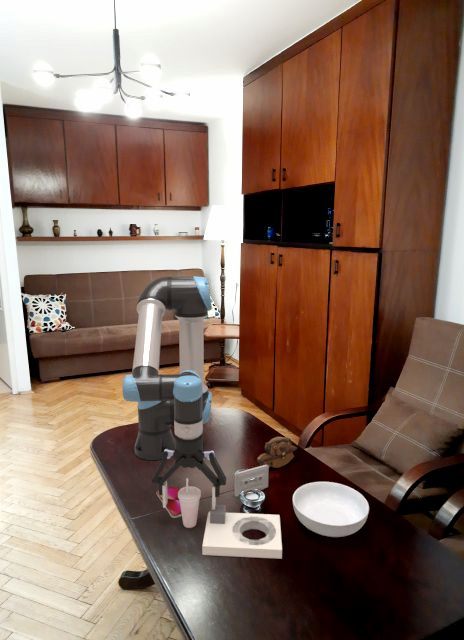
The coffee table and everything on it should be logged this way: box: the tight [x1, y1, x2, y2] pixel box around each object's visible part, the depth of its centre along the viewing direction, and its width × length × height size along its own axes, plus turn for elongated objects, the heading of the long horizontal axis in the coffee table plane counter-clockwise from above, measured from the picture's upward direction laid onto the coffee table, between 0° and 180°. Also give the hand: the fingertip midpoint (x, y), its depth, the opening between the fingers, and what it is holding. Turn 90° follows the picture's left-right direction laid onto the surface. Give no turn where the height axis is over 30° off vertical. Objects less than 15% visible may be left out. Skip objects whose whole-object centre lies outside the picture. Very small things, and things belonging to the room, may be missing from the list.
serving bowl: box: [292, 481, 370, 538], centre depth 125 cm, size 21×21×7 cm
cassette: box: [233, 464, 270, 497], centre depth 140 cm, size 12×2×8 cm, turn 118°
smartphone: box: [155, 485, 182, 519], centre depth 135 cm, size 7×1×15 cm
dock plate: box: [201, 504, 283, 560], centre depth 119 cm, size 14×20×6 cm
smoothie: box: [178, 477, 202, 529], centre depth 124 cm, size 6×6×14 cm
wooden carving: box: [256, 436, 298, 468], centre depth 155 cm, size 16×5×10 cm, turn 128°
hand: (189, 505), depth 124 cm, fingers open, 13 cm apart
